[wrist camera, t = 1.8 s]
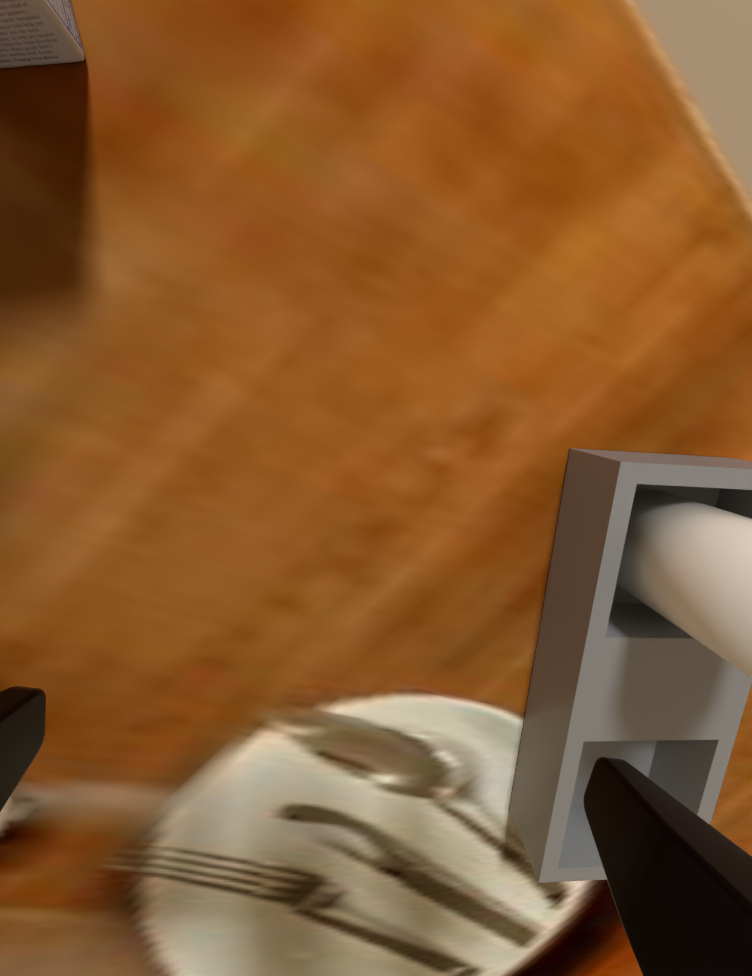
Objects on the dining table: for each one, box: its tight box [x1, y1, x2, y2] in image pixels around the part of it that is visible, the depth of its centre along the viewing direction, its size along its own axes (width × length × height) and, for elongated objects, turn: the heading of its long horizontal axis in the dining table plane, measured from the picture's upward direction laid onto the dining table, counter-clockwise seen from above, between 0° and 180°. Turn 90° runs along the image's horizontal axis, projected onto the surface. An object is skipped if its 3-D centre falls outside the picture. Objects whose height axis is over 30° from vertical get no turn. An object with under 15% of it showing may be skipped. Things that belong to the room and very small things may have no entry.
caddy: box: [509, 448, 752, 883], centre depth 20 cm, size 8×20×4 cm, turn 176°
